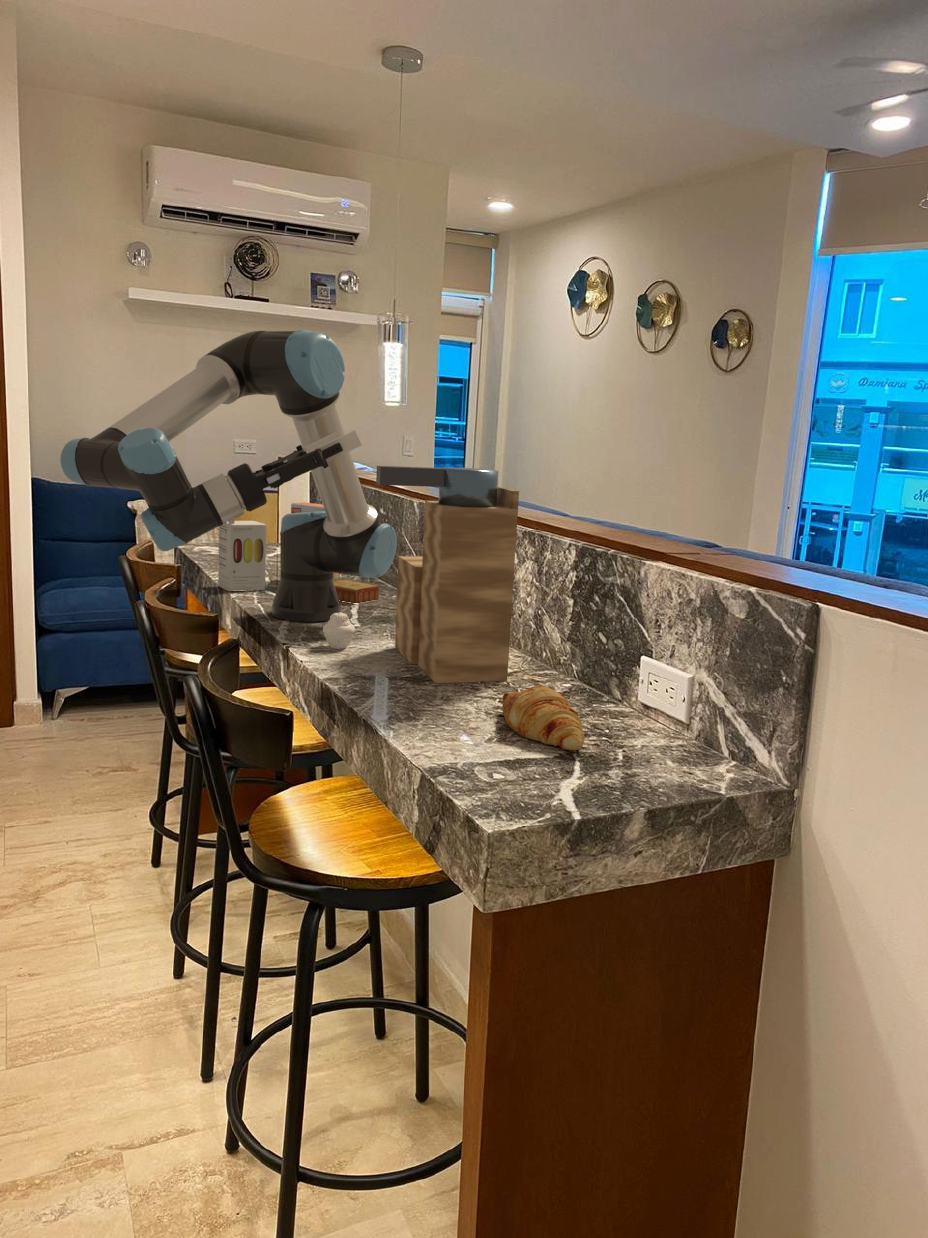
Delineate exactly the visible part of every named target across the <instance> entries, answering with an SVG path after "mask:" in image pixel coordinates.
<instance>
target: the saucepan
mask: <svg viewBox="0 0 928 1238" xmlns="http://www.w3.org/2000/svg"><path fill="white" fill-rule="evenodd" d="M375 484H376V485H379V486H396V487H397V486H398V487H428V488H429V487H431V488H435V487H436V488H438V501H439V502H438V503H439V504H442V505H448V506H457V507H474V508H490V507H496V505H497V488H498V484H499V470H496V469H495V470H494V469H486V468H472V467H450V466H449V467H424V466H423V467H421V466H395V465H392V466H391V465H376V481H375Z"/></svg>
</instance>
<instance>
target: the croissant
mask: <svg viewBox="0 0 928 1238" xmlns="http://www.w3.org/2000/svg"><path fill="white" fill-rule="evenodd" d="M501 708H502V713H503V717H504V719H505V722H506V723H505V724H507V725H508V726H509V727H510V729H512V730H513V731H515V732H516V733H517V734H519V735H520V736H521V737H523V738H526V739H529V740H533V741H536V742H541V743H542V744H544V745H550V746H554V747H557V746H559V747H560V748H561V749H563V750H567V751H576V750H580V749H581V748H582V747H583V746H584V742H585V738H586V737H585V733H584V727H583V726H584V725H583V723H582V720H581V719H580V717H579V713H578V712H577V711H576V710H575V709H573V708H572V706H571V705H570V703H569V701H568V699H567V697H566V696H565V695H563V694H562V693H560V692H558V691H556V690H554V689H552V688H549V687H546V686H544V685H542V684H539V685H537V686H532V687H528V688H527V689H525V690H522V691H521V690H520V691H514V692H505V693H503V696H502V706H501Z"/></svg>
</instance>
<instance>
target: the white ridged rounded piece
mask: <svg viewBox="0 0 928 1238" xmlns="http://www.w3.org/2000/svg"><path fill="white" fill-rule="evenodd" d="M322 631H323V634H324V638H325V639H326V642H327V643H328V645H329V647H330V648H331V649H334V650H343V649H344V650H345V649H347V648H348V646H349V644H350V642H351V641H352V639H353V637H354V634H355V631H356V628H355V626H354V625H353V624H352V623H351V621H350V619H349V616H348V615H347V613H344V612H341V613H340V612H339V613H334V614H332V615H331V616H330V620H327V623H326V624H324V625H323V628H322Z"/></svg>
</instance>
